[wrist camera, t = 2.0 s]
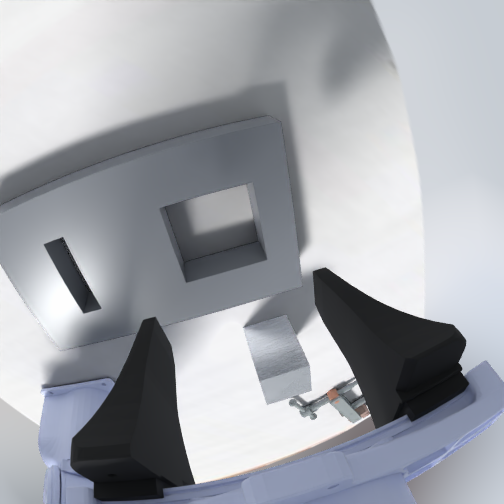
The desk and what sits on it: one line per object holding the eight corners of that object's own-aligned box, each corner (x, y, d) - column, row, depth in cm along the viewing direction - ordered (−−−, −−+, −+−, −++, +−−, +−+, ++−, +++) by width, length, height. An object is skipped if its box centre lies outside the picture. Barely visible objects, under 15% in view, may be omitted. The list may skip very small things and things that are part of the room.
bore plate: (65, 329, 24) (59, 350, 22) (-6, 208, 17) (-21, 224, 15) (291, 267, 26) (302, 286, 24) (268, 115, 19) (280, 121, 17)
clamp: (386, 404, 42) (330, 436, 43) (380, 394, 44) (326, 425, 45) (362, 369, 34) (289, 411, 35) (354, 355, 36) (284, 397, 37)
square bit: (251, 354, 30) (266, 404, 25) (242, 327, 28) (259, 381, 23) (290, 342, 31) (311, 390, 26) (286, 314, 28) (309, 365, 23)
